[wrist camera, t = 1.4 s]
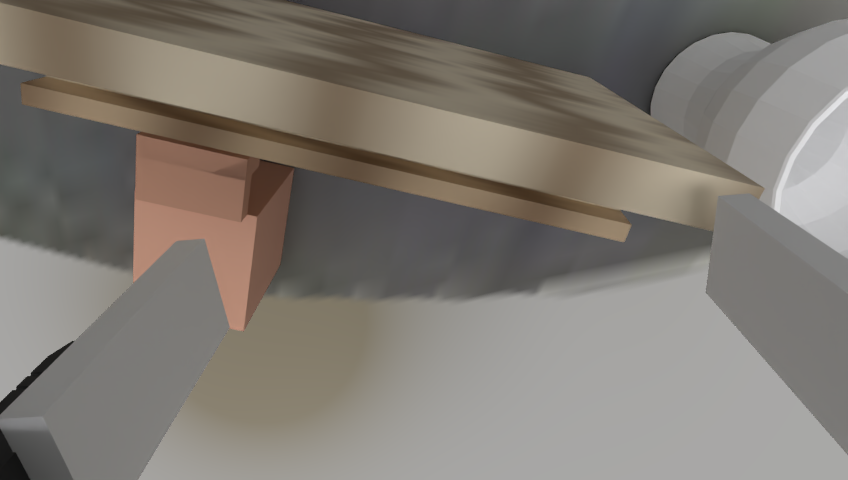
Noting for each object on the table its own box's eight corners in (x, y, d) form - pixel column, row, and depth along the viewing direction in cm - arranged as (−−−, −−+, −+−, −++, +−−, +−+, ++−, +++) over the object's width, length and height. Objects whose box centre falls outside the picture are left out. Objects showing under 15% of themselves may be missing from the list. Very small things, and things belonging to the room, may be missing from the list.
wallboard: (166, 60, 32) (-139, 152, 15) (170, -29, 30) (-177, -40, 13) (562, 155, 34) (689, 332, 17) (589, 77, 32) (764, 188, 15)
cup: (811, -23, 30) (1123, -25, 16) (812, 161, 34) (1062, 282, 21) (612, 37, 31) (747, 80, 18) (637, 206, 36) (761, 347, 22)
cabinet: (191, 245, 37) (121, 321, 29) (201, 94, 33) (122, 132, 25) (280, 264, 38) (236, 344, 30) (301, 118, 34) (257, 163, 25)
